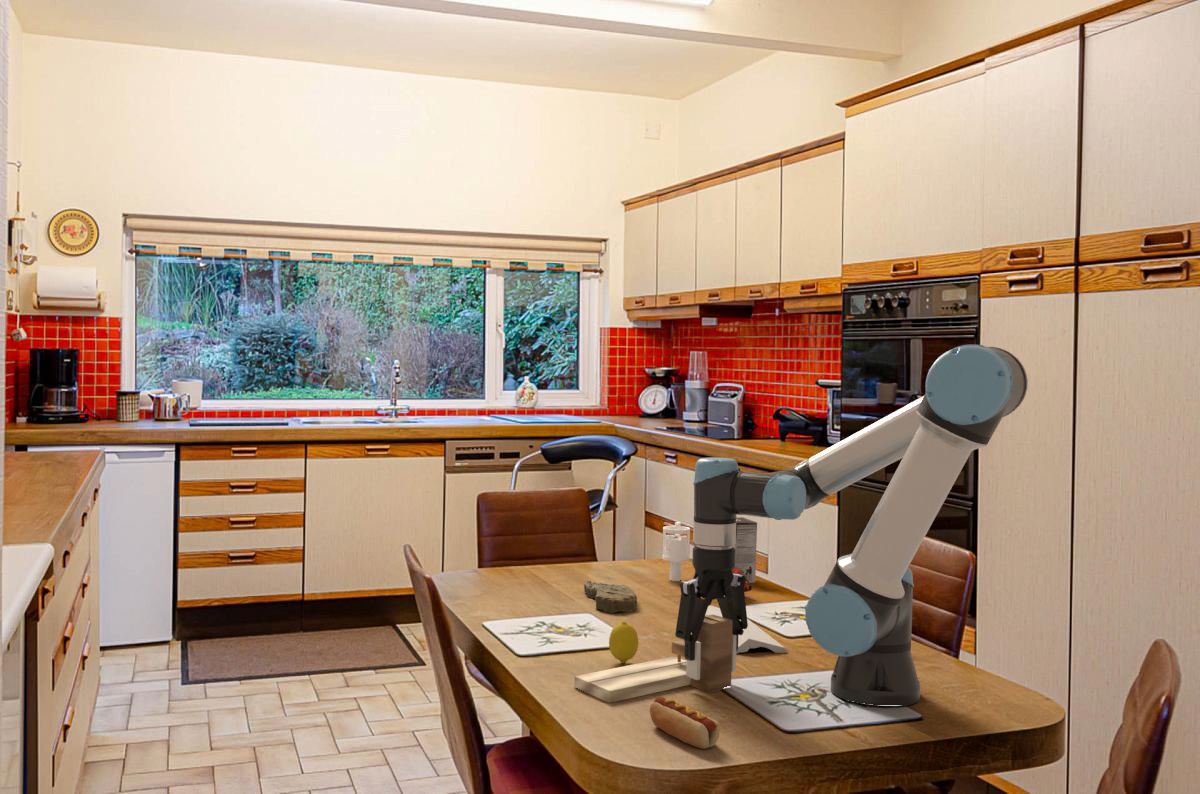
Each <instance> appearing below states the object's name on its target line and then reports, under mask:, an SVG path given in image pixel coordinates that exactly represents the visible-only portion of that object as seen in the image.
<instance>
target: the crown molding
mask: <svg viewBox="0 0 1200 794" xmlns="http://www.w3.org/2000/svg"><path fill="white" fill-rule="evenodd" d="M706 615H716V616H720V617H722V614H721V610H720V607H719V606H718V607H717V606H714V605H709V606H708V608H707V611H706ZM740 621H741V620H740ZM747 623H748V627H747V629H742V630H744V632H743V634H742V635H738V650H737V651H736V655H738V654H739V653H747V652H748V651H749V650H750V649H756V648H757V649H758V648H760V647H761V648H766V649H768V650H770V651H772V652H773V653H775V654H779V653H780V654H782V653H783V654H784V653H785V654H786V653H789V651H788V650H787V649H786V647H785V646H784V645H782V644H781V643H779V642H778V641H777V640H775V639H774V638H773V637H772V636H771V635H769V634H768V633H767V632H765V630H763V629H762V628H760V627H759V626H758V625H757V624H755V623H754V622H752V621H751V620H750V619H749V618H747Z"/></svg>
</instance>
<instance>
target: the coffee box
mask: <svg viewBox="0 0 1200 794" xmlns="http://www.w3.org/2000/svg"><path fill="white" fill-rule="evenodd" d="M757 535H758V521H757V522H756V521H753V520H751V519H749V518H745V517H737V516H736V544H735V545H734V546H733V547H734V549H735V550H736V553H735V567H737V568H738V569H741V570H743V571H744V573H743V574H744V575H745V576H746V578H747V581H749V583H748V582H747V581H746V583H747V584H753V583H756V572H757V571H756V569H757V567H756V566H757V565H756V564H757V544H758V543H757V539H758V537H757Z"/></svg>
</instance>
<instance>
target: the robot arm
mask: <svg viewBox="0 0 1200 794" xmlns="http://www.w3.org/2000/svg"><path fill="white" fill-rule="evenodd" d="M1028 383H1029V382H1028V375H1027V372H1026V369H1025V367H1024V365H1023V363H1022V362H1021V361H1020V360H1019V358H1017V357H1016V356H1015V355H1014V354H1013V353H1011V352H1010V351H1008V350H1007V349H1006V350H1005V349H1004V348H1001V347H994V346H985V345H982V344H976V343H975V344H971V343H970V344H963V345H959V346H957V347H954V348H952V349H949V350H948V351H945V352H944V353H942V354H941V355H940V356H938V357H937V359H936V360H935V361H934V362H933V364H932V365H931V366H930V368H929V369H928V373H927V375H926V379H925V393H924V395H923V396H921V397H918V398H917V399H915V400H913V401H911V402H910V403H908V404H906V405H904V406H903V407H902V406H901V408H899V409H896V410H895V411H894V412H891V413H890V414H887V415H886V416H884V417H883V418H881V419H878V420H877V421H875V422H874V423H871V424H870V425H868V426H866V427H863V428H862V429H860V430H859V431H857V432H855V433H853V434H851V435H850V436H847V437H846V438H844V439H842V440H840V441H839V442H836V443H835V444H833V445H831V446H830V447H827V448H826V449H824V450H823V451H820V452H819V453H817V454H815V455H813V456H811V457H810V458H808V459H805V460H804V461H802V462H800V463H797V464H796V465H794V466H793V467H791V468H789V469H783V470H779V471H773V472H747V471H743V470H739V464H738V461H737V460H736V459H734V458H729V457H712V456H711V457H702V458H699V459H698V460H697V461H696V463H695V466H694V467H695V469H694V481H693V486H694V487H693V490H694V491H693V495H694V497H693V501H694V502H693V526H692V527H693V530H692V532H693V534H692V537H693V538H692V543H694V544H695V545H694V546H693V547H692V567H693V569H694V575H693V577H692V579H690V580H689V581H685V580H681V581H680V583H679V586H680V587H679V589H680V599H679V600H680V601H679V607H678V614H677V621H676V627H675V633H674V634H675V638H677V639H680V640H682V641H684V642H685V653H684V657H683V658H684V660H686V661H687V667H686V676H687V677H689V678H692V679H695V680H700V657H701V642H698V641H697V639H698V636H699V633H700V630H701V627H702V624H703V621H704V618H705V614H706V611H707V608H708V606H709V605H710V606H712V602H713V600H716V601H717V603H718V608H720V610H721V614H722V617H723V618H727V619H730V620H733V626H732V669H731V673H734V672H737V671H736V669H737V668H736V667H737V654H736V651H737V650H738V635H742V634H743V632H744V630H742V629H747V627H748V623H747V619H748V616H747V615H748V614H747V613H748V612H747V603H746V594H745V593H746V592H744V586H745V576H744V575H740V574H735V573H733V572H732V569H734V567H735V553H736V550H735V549H734V547H733V546H734V545H735V544H736V517H737V516H738V515H739V516H750V517H758V518H767V519H774V520H777V521H781V520H789V521H792V520H793V521H794V520H797V519H798V518H800V516H801V515H802V513H803V512H804V511H805V510H807V509H811V508H813V507H814V506H816V505H818V504H820V503H821V502H822V500H824V499H826V498H828V497H830V496H832V495H834V494H835V493H837V492H839V491H841V490H843V489H845V488H847V487H849V486H851V485H853V484H855V483H856V482H859V481H860V480H863V479H864V478H866V477H868V476H870V475H872V474H874V473H876V472H878V471H880V470H882V469H883V468H886V467H887V466H889V465H891V464H893V463H896V462H897V461H899V460H901V461H900V463H899V464H898V467H897V468H896V470H895V472H894V474H893V475H892V478H891V479H890V482H889V484H888V485H887V487H886V489H885V490H884V493H882V496H881V498H880V500H879V502H878V504H877V506H876V507H875V509H874V511H873V513H872V515H871V517H870V519H869V521H868V523H867V525H866V527H865V529H864V530H863V532H862V534H861V536H860V537H859V540H858V542H857V543H856V546H855V547H854V549H853V551H852V553H850V554H846V555H842V556H839V558H838V559H837V561H836V562H835V564H834V566H833V568H832V570H831V572H830V574H829V575H828V577H827V579H826V582H825V583H824V585H823V586H820V587H818V588H817V589H816V590H815V591H814V592H813V593H812V595H811V596H810V597H809V599H808V601H807V602H806V606H805V612H804V615H805V625H806V626H807V628H808V632H809V634H810V636H811V637H812V639H813V640H814V642H815V643H816V644H817V645H818V646H819V647H820V648H822V649H823V650H825V652H828V653H829V654H831V655H835V656H837V660H836V663H835V665H834V669H833V672H832V674H831V677H830V692H831V691H832V692H831V693H832V694H833V693H834V694H835V695H834V694H833V695H834V696H835V697H837V696H838V698H839V697H840V699H841V698H843V699H842V700H844V699H846V700H845V701H847V700H849V701H848V702H850V701H854V702H858V703H865V704H873V705H902V706H901V707H906V706H912V705H913V704H916V703H917V702H919V701H920V699H921V683H920V681H919V677H918V674H917V670H916V667H915V662H914V658H913V656H912V627H913V622H912V621H913V601H914V600H913V598H914V597H913V596H914V588H915V585H914V578H913V576H914V575H913V571H912V569H911V568H909V566H910V564H911V563H912V561H913V559H914V557H915V556H916V554H917V552H918V550H919V548H920V546H921V544H922V543H923V541H924V539H925V537H926V535H927V534H928V532H929V530H930V528H931V526H932V524H933V522H934V521H935V519H936V517H937V515H938V514H939V512H940V509H941V508H942V506H943V504H944V502H945V501H946V499H947V497H948V495H949V494H950V491H951V490H952V489H953V488H952V487H953V486H954V485H955V483H956V480H957V479H958V478H959V477H958V476H959V475H960V474H961V471H962V470H963V468H964V466H965V464H966V463H967V461H968V459H969V457H970V455H971V453H972V452H973V451H975V450H979V449H982V448H984V447H987V446H988V444H989V443H990V441H991V439H992V436H993V435H994V433H995V431H996V430H997V428H998V426H999V424H1000V422H1001V421H1002V418H1004V417H1007V416H1009V415H1010V414H1012V413H1013V412H1015V411H1016V410H1017V409H1018V408H1019V407H1020V406H1021V404H1022V402H1023V401H1025V400H1024V399H1025V398H1026V395H1027V391H1028ZM740 620H741V621H740ZM854 702H853V703H854ZM858 703H857V704H858Z"/></svg>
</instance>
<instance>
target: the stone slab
mask: <svg viewBox="0 0 1200 794" xmlns="http://www.w3.org/2000/svg"><path fill="white" fill-rule="evenodd" d="M583 585H584V587H583V591H584V594H585V596H586V597H588V598H589V597H590V599H592V598H594V599H593V600H596V601H595V609H596V610H602V611H604V612H606V613H608V612H610V613H609V614H614V612H615V613H619V612H624V613H629V611H630V612H633V611H635V610H636V609H637V604H638V602H637V598H638V597H637V594H636V593H635V592H634V590H633V588H631V587H629V586H628V585H625V584H622V585H621V584H615V583H614V584H613V583H611V584H610V583H602V582H592V581H591V580H589V579H588V580H586V583H584V584H583Z"/></svg>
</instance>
